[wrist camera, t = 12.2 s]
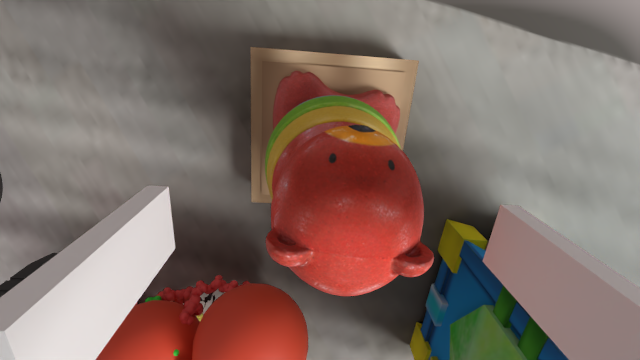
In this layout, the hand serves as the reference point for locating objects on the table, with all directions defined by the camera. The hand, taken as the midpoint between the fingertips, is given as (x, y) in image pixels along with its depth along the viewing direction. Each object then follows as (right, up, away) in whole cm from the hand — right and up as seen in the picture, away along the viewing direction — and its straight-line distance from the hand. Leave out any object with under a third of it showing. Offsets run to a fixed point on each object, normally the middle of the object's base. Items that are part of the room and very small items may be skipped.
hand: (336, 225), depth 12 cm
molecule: (-14, -11, +26) cm, 32 cm away
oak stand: (0, +7, +19) cm, 20 cm away
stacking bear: (0, +6, +15) cm, 16 cm away
